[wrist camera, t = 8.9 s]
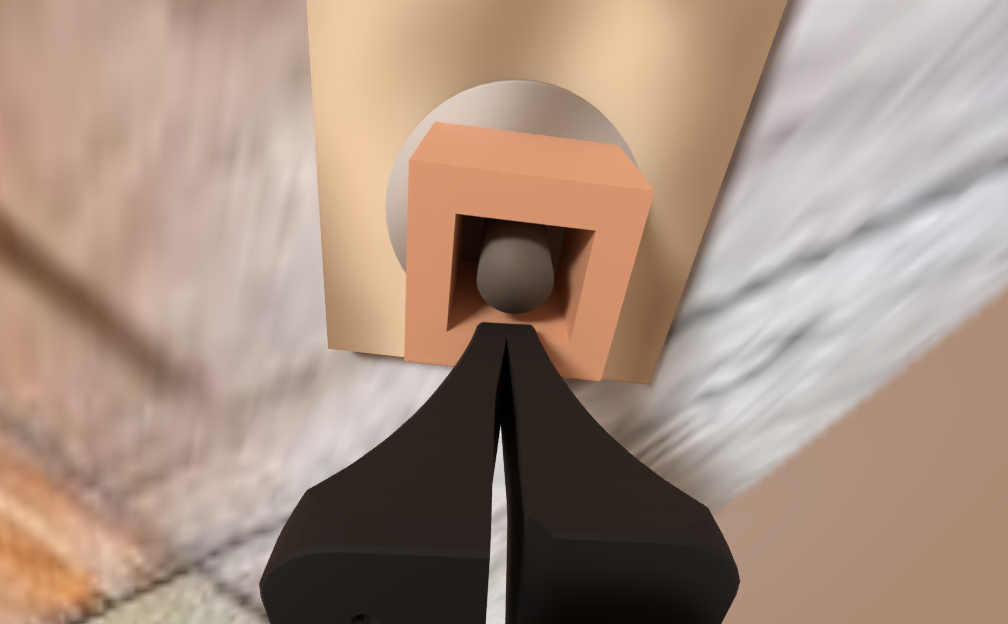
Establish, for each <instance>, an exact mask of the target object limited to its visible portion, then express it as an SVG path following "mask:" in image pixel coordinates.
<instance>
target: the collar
mask: <svg viewBox="0 0 1008 624" xmlns="http://www.w3.org/2000/svg"><path fill="white" fill-rule="evenodd" d="M654 191H655V190H654V189H653V188H652V187H651V185H650V184H649V183H648V182H647V180H646V179H645V178H644V177H643V175H642V174H641V173H640V172H639V170H638V169H637V168H636V166H635V165H634V164H633V163H632V161H631V160H630V159H629V158H628V156H627V155H626V154H625V153H624V151H623V150H622V149H621V147H620V146H619V145H613V144H606V143H598V142H590V141H583V140H575V139H567V138H560V137H552V136H544V135H537V134H529V133H521V132H514V131H506V130H498V129H490V128H483V127H475V126H467V125H460V124H452V123H444V122H437V121H435V122H434V124H433V125H432V127H431V128H430V129H429V131H428V132H427V134H426V135H425V137H424V138H423V140H422V141H421V143H420V144H419V146H418V147H417V149H416V150H415V152H414V153H413V154H412V156H411V157H410V159H409V176H408V218H407V260H406V302H405V345H404V361H411V362H421V363H430V364H440V365H449V366H455V365H456V363H457V362H458V360H459V359H460V357H461V356H462V354H463V353H464V351H465V350H466V348H467V346H468V344H469V343H470V341H471V339H472V337H473V335H474V332H475V330H476V327H477V325H478V324H480V323H481V322H491V323H510V324H530V325H532V326H533V327H534V328H535V330H536V332H537V335H538V337H539V339H540V341H541V343H542V345H543V347H544V349H545V351H546V353H547V354H548V356H549V358H550V360H551V361H552V363H553V365H554V366H555V368H556V369H557V371H558V372H559V374H560V376H561V377H564V378H573V379H583V380H592V381H601V378H602V375H603V371H604V368H605V364H606V360H607V357H608V353H609V350H610V346H611V343H612V339H613V336H614V332H615V329H616V325H617V322H618V318H619V315H620V311H621V308H622V304H623V301H624V297H625V294H626V290H627V286H628V283H629V279H630V276H631V272H632V269H633V265H634V262H635V258H636V255H637V251H638V248H639V244H640V241H641V237H642V234H643V230H644V227H645V223H646V220H647V216H648V212H649V209H650V205H651V202H652V198H653V195H654ZM465 215H471V216H479V217H488V218H496V219H504V220H512V221H521V222H529V223H537V224H545V225H554V226H562V227H565V232H564V237H563V242H562V247H561V252H560V257H559V262H558V268H557V272H554V271H553V274H554V285H553V289H552V292H551V294H550V295H549V297H548V299H547V300H546V301H545V302H544V303H543V304H542V305H541V306H539V307H538V308H536V309H534V310H532V311H529V312H526V313H521V314H509V313H504V312H501V311H499V310H496V309H495V308H493V307H491V306H490V305H489V304H488V303H487V302H486V301H485V300H484V299H483V298H482V296H481V294H480V292H479V290H478V286H477V272H478V264H479V263H477V262H468V261H461V253H462V242H463V230H464V218H465Z"/></svg>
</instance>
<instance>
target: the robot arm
mask: <svg viewBox="0 0 1008 624" xmlns="http://www.w3.org/2000/svg"><path fill="white" fill-rule="evenodd" d="M500 426H501V433H502V446H503V459H504V472H505V485H506V498H507V571H506V615H505V624H721V623H722V621H723V619H724V617H725V616H726V613H727V612H728V610H729V608H730V606H731V604H732V602H733V600H734V598H735V596H736V594H737V590H738V587H739V583H740V579H739V574H738V569H737V566H736V564H735V561H734V559H733V556H732V554H731V551H730V549H729V547H728V545H727V542H726V540H725V539H724V536H723V535H722V533H721V531H720V529H719V527H718V525H717V523H716V522H715V520H714V518H713V516H712V514H711V513H710V511H709V509H708V508H707V507H706V506H704V505H703V504H701V503H700V502H698V501H697V500H695V499H693V498H692V497H690V496H689V495H687V494H686V493H684V492H683V491H681V490H679V489H678V488H676V487H675V486H673V485H672V484H670V483H669V482H667V481H666V480H664V479H663V478H661V477H660V476H659V475H657V474H656V473H655V472H653V471H652V470H651V469H649V468H648V467H647V466H645V465H644V464H643V463H641V462H640V461H639V460H638V459H636V458H635V457H634V456H633V455H632V454H630V453H629V452H628V451H627V450H626V449H625V448H624V447H623V446H621V445H620V444H619V443H618V442H617V441H616V440H615V439H614V438H612V437H611V436H610V435H609V434H608V433H607V432H606V431H605V430H604V429H603V428H602V427H601V426H600V425H599V424H598V423H597V421H596V420H595V419H594V418H593V417H592V416H591V415H590V414H589V413H588V411H587V410H586V409H585V408H584V407H583V405H582V404H581V403H580V402H579V400H578V399H577V398H576V397H575V395H574V394H573V393H572V391H571V390H570V389H569V387H568V386H567V384H566V383H565V382H564V380H563V379H562V377H561V376H560V374H559V372H558V371H557V369H556V368H555V366H554V365H553V363H552V361H551V360H550V358H549V356H548V354H547V353H546V351H545V349H544V347H543V345H542V343H541V341H540V339H539V337H538V335H537V332H536V330H535V328H534V327H533V326H532V325H530V324H510V323H491V322H481V323H480V324H478V325H477V327H476V330H475V332H474V335H473V337H472V339H471V341H470V343H469V344H468V346H467V348H466V350H465V351H464V353H463V354H462V356H461V357H460V359H459V360H458V362H457V363H456V365H455V366H454V368H453V369H452V371H451V372H450V373H449V375H448V376H447V377H446V379H445V380H444V381H443V382H442V384H441V385H440V386H439V387H438V389H437V390H436V391H435V392H434V393H433V395H432V396H431V397H430V398H429V399H428V400H427V401H426V402H425V404H424V405H423V406H422V407H421V408H420V409H419V410H418V411H417V412H416V413H415V414H414V415H413V416H412V417H411V418H409V419H408V420H407V421H406V422H405V423H404V424H403V425H402V426H401V427H400V428H398V429H397V430H396V431H395V432H394V433H393V434H392V435H390V436H389V437H388V438H387V439H385V440H384V441H383V442H382V443H380V444H379V445H378V446H376V447H375V448H373V449H372V450H371V451H369V452H368V453H367V454H365V455H364V456H363V457H361V458H360V459H358V460H357V461H356V462H354V463H353V464H351V465H350V466H348V467H346V468H345V469H343V470H341V471H340V472H338V473H336V474H334V475H333V476H331V477H329V478H328V479H326V480H324V481H322V482H321V483H319V484H317V485H316V486H314V487H312V488H310V489H308V490H307V491H306V492H305V493H304V495H303V496H302V498H301V500H300V501H299V503H298V504H297V506H296V507H295V509H294V511H293V512H292V514H291V516H290V518H289V519H288V521H287V522H286V524H285V526H284V527H283V529H282V531H281V533H280V535H279V537H278V539H277V542H276V544H275V546H274V549H273V551H272V554H271V556H270V558H269V561H268V563H267V565H266V568H265V570H264V573H263V575H262V578H261V580H260V583H259V586H260V594H261V599H262V602H263V605H264V607H265V610H266V613H267V616H268V619H269V622H270V624H486V609H487V594H488V578H489V563H490V542H491V514H492V483H493V476H494V469H495V462H496V455H497V447H498V440H499V433H500Z"/></svg>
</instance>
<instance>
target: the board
mask: <svg viewBox="0 0 1008 624" xmlns="http://www.w3.org/2000/svg"><path fill="white" fill-rule="evenodd" d="M306 1H307V17H308V33H309V49H310V65H311V81H312V97H313V113H314V129H315V145H316V161H317V177H318V193H319V209H320V225H321V241H322V257H323V273H324V288H325V304H326V320H327V336H328V349H336V350H345V351H354V352H363V353H372V354H381V355H390V356H399V357H404V345H405V302H406V260H407V218H408V176H409V159H410V157H411V156H412V154H413V153H414V152H415V150H416V149H417V147H418V146H419V144H420V143H421V141H422V140H423V138H424V137H425V135H426V134H427V132H428V131H429V129H430V128H431V127H432V125H433V124H434V122H435V121H437V122H444V123H452V124H460V125H467V126H475V127H483V128H490V129H498V130H506V131H514V132H521V133H529V134H537V135H544V136H552V137H560V138H567V139H575V140H583V141H590V142H598V143H606V144H613V145H619V146H620V147H621V149H622V150H623V151H624V153H625V154H626V155H627V156H628V158H629V159H630V160H631V161H632V163H633V164H634V165H635V166H636V168H637V169H638V170H639V172H640V173H641V174H642V175H643V177H644V178H645V179H646V180H647V182H648V183H649V184H650V185H651V187H652V188H653V189H654V190H655V191H654V195H653V198H652V202H651V205H650V209H649V212H648V216H647V220H646V223H645V227H644V230H643V234H642V237H641V241H640V244H639V248H638V251H637V255H636V258H635V262H634V265H633V269H632V272H631V276H630V279H629V283H628V286H627V290H626V294H625V297H624V301H623V304H622V308H621V311H620V315H619V318H618V322H617V325H616V329H615V332H614V336H613V339H612V343H611V346H610V350H609V353H608V357H607V360H606V364H605V368H604V371H603V375H602V378H601V379H604V380H613V381H622V382H631V383H640V384H650V381H651V379H652V376H653V373H654V370H655V367H656V365H657V362H658V359H659V356H660V354H661V351H662V348H663V345H664V342H665V340H666V337H667V334H668V331H669V329H670V326H671V323H672V320H673V317H674V315H675V312H676V309H677V306H678V304H679V301H680V298H681V295H682V292H683V290H684V287H685V284H686V281H687V279H688V276H689V273H690V270H691V267H692V265H693V262H694V259H695V256H696V254H697V251H698V248H699V245H700V242H701V240H702V237H703V234H704V231H705V229H706V226H707V223H708V220H709V217H710V215H711V212H712V209H713V206H714V204H715V201H716V198H717V195H718V192H719V190H720V187H721V184H722V181H723V179H724V176H725V173H726V170H727V167H728V165H729V162H730V159H731V156H732V154H733V151H734V148H735V145H736V142H737V140H738V137H739V134H740V131H741V129H742V126H743V123H744V120H745V117H746V115H747V112H748V109H749V106H750V104H751V101H752V98H753V95H754V92H755V90H756V87H757V84H758V81H759V79H760V76H761V73H762V70H763V67H764V65H765V62H766V59H767V56H768V54H769V51H770V48H771V45H772V42H773V40H774V37H775V34H776V31H777V29H778V26H779V23H780V20H781V17H782V15H783V12H784V9H785V6H786V4H787V1H788V0H306ZM564 232H565V227H562V226H554V225H545V224H537V223H529V222H521V221H512V220H504V219H496V218H488V217H479V216H471V215H465V218H464V230H463V242H462V253H461V261H468V262H477V263H479V264H478V272H477V286H478V290H479V292H480V294H481V296H482V298H483V299H484V300H485V301H486V302H487V303H488V304H489V305H490V306H491V307H493V308H495V309H496V310H499V311H501V312H504V313H509V314H521V313H526V312H529V311H532V310H534V309H536V308H538V307H539V306H541V305H542V304H543V303H544V302H545V301H546V300H547V299H548V297H549V295H550V294H551V292H552V289H553V285H554V274H553V271H554V272H557V268H558V262H559V257H560V252H561V247H562V242H563V237H564Z"/></svg>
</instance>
